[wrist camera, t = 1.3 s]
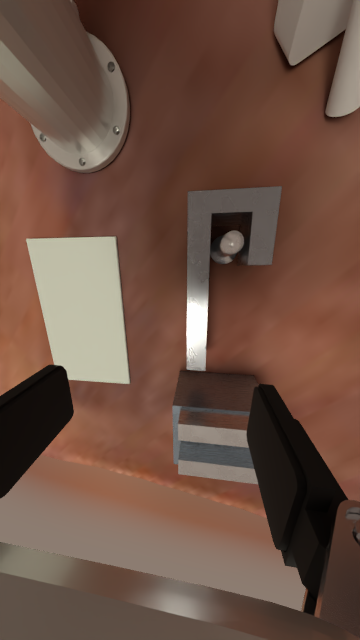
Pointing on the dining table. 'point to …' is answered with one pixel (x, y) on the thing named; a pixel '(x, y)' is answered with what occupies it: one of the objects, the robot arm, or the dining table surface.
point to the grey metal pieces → (214, 409)
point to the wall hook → (316, 30)
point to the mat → (82, 306)
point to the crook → (203, 212)
